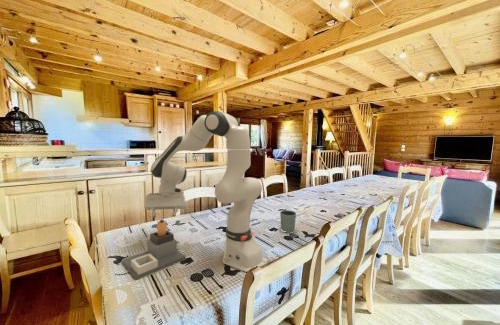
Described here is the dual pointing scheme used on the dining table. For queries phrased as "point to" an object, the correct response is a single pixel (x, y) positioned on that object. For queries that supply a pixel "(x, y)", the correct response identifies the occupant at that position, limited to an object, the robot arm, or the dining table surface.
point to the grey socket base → (154, 256)
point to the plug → (161, 228)
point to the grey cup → (288, 220)
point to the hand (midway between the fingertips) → (164, 216)
